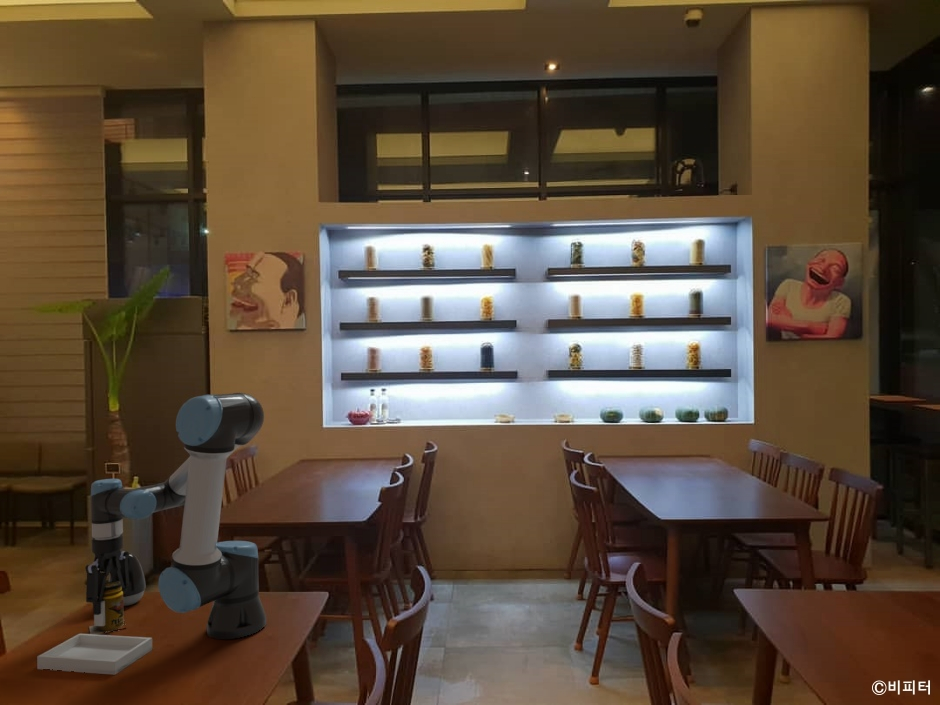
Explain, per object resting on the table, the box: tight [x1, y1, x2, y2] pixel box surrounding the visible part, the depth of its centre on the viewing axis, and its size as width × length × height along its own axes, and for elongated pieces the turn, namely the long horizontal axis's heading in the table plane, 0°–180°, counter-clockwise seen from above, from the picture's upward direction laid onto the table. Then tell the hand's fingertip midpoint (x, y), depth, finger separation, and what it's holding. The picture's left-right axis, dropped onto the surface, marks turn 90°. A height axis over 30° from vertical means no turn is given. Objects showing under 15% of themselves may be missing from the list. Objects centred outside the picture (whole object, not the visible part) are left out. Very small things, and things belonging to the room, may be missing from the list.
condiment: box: [88, 581, 125, 635], centre depth 177 cm, size 7×8×12 cm
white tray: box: [36, 633, 153, 676], centre depth 159 cm, size 21×13×3 cm, turn 80°
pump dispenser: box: [108, 552, 146, 607], centre depth 196 cm, size 10×10×15 cm
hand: (109, 620), depth 178 cm, fingers closed on condiment, 6 cm apart
